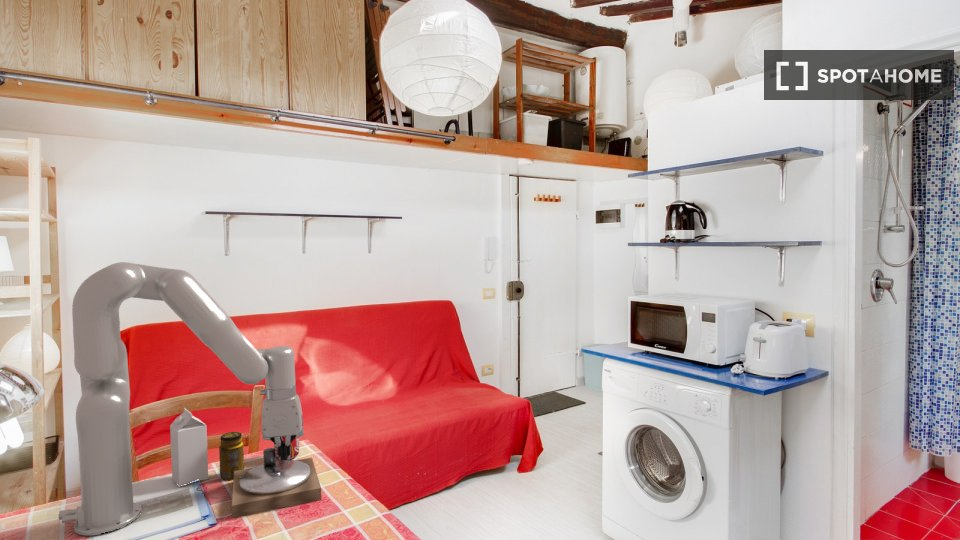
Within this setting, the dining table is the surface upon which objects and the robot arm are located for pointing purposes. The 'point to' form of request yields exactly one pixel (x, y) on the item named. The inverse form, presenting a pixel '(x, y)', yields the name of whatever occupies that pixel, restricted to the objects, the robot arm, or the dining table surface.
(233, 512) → the stand
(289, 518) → the dining table surface
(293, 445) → the soda can
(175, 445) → the milk carton
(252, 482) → the dial
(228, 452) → the condiment
